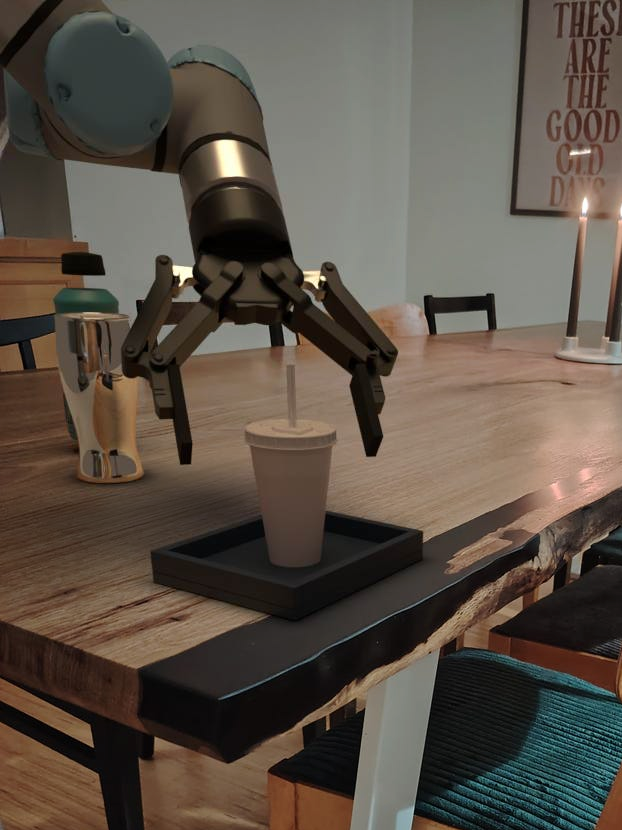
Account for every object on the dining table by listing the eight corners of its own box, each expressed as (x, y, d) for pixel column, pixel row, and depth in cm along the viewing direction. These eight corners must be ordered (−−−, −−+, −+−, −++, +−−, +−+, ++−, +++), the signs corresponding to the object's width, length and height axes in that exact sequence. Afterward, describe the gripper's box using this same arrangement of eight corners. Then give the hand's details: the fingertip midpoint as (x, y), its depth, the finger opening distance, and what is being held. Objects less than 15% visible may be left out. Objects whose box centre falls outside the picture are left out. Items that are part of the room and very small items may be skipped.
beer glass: (153, 468, 95) (138, 313, 89) (142, 484, 88) (126, 319, 82) (81, 467, 93) (61, 310, 87) (65, 484, 87) (42, 317, 81)
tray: (295, 621, 59) (294, 587, 59) (153, 582, 65) (149, 550, 64) (422, 558, 72) (423, 530, 71) (295, 530, 77) (294, 503, 77)
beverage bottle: (60, 447, 101) (34, 249, 93) (120, 441, 105) (99, 251, 97) (84, 459, 97) (58, 252, 89) (145, 452, 101) (126, 254, 93)
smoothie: (260, 577, 64) (250, 369, 59) (242, 549, 70) (231, 357, 64) (349, 568, 67) (347, 369, 61) (325, 542, 72) (322, 356, 67)
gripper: (377, 262, 81) (432, 470, 75) (69, 249, 72) (101, 486, 65) (397, 194, 75) (459, 415, 68) (61, 170, 65) (95, 425, 59)
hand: (284, 451), depth 67 cm, fingers open, 13 cm apart
